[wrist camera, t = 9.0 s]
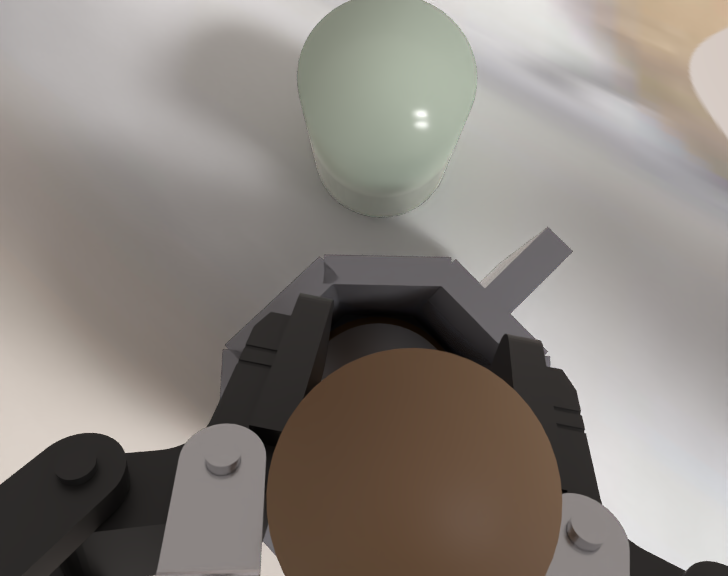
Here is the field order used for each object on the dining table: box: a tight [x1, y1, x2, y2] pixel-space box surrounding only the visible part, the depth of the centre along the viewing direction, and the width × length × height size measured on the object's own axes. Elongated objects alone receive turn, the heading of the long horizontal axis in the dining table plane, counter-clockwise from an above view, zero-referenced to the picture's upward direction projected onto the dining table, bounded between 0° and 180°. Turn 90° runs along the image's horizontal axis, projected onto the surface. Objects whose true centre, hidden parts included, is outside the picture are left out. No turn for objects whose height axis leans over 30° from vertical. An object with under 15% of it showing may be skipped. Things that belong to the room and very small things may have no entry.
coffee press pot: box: [220, 227, 573, 555], centre depth 22 cm, size 13×10×12 cm
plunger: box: [266, 323, 562, 576], centre depth 16 cm, size 7×7×18 cm
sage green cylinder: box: [297, 0, 477, 217], centre depth 26 cm, size 7×7×8 cm
